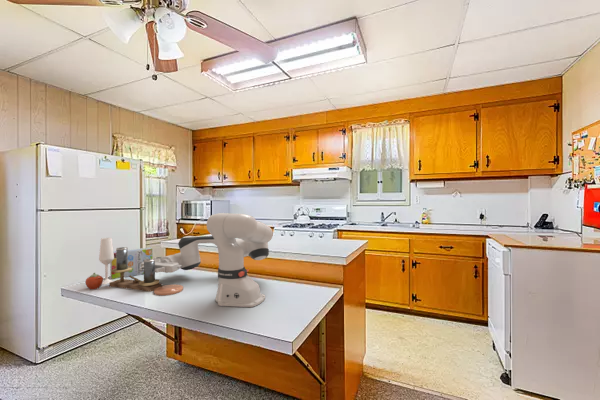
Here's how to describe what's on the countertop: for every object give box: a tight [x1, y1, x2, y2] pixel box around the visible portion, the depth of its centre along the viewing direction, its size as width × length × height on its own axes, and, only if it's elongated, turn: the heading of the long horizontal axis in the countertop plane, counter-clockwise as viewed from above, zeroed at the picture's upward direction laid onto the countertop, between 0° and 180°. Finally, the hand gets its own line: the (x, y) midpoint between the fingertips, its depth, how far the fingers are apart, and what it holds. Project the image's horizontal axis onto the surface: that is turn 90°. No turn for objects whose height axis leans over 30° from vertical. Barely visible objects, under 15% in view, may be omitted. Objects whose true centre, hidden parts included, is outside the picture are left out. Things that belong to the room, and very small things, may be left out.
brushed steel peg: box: [143, 258, 156, 283], centre depth 144 cm, size 5×5×11 cm
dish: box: [153, 283, 184, 296], centre depth 141 cm, size 13×13×1 cm
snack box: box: [109, 247, 154, 280], centre depth 169 cm, size 21×6×15 cm, turn 130°
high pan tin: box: [115, 246, 129, 270], centre depth 150 cm, size 5×5×11 cm
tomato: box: [84, 272, 104, 290], centre depth 145 cm, size 7×7×8 cm
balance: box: [108, 267, 163, 292], centre depth 147 cm, size 27×9×8 cm, turn 73°
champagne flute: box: [98, 237, 114, 285], centre depth 154 cm, size 7×7×24 cm
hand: (148, 270), depth 143 cm, fingers open, 8 cm apart
